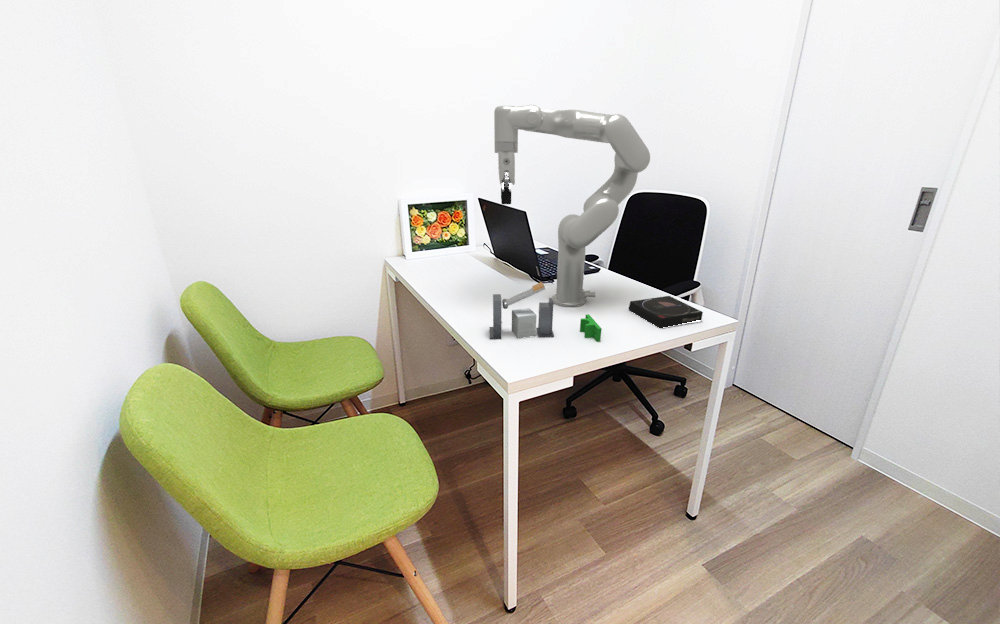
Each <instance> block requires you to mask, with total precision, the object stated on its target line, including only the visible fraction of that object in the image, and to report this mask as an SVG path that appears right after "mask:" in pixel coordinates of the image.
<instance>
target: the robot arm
mask: <svg viewBox="0 0 1000 624" xmlns="http://www.w3.org/2000/svg"><path fill="white" fill-rule="evenodd" d="M493 113H494V114H493V117H494V118H493V119H494V124H493V125H494V127H493V129H494V154H498V156H497V161H498V163H497V165H498V178H499V179H498V180H499V184H500V185H501V187H500V199H501V205H511V204H512V189H511V187H512V186H511V184H512V185H513V186H515V184H516V183H515V182H516V179H515V178H516V177H515V176H516V171H515V170H516V158H515V156H516V155H515V154H517V153H519V152H518V151H519V130H521V131H524V132H531V133H538V134H539V133H540V134H547V135H554V136H558V137H562V138H567V139H574V140H579V141H580V140H582V141H589V142H595V143H601V144H602V143H604V144H609V145H610V147H611V148H612V150H613V151H614V157H613V158H614V170H613V171H612V172H613V173H612V174H611V176H610V177H609V178H608V179H607V180H606V181H605V183H604V184H602V185H601V186H600V187H599V188H598V189H597V190H596V191H595V192H594V193H592V194H591V195H590V196H589V197H588V198H587V199H586V200H585V201H584V204H583V208H582V209H583V212H582V213H581V214H580V215H578V214H575V213H574V214H572V213H571V214H568V215H565V216H564V217H563V218H562V219H561V221H560V222H559V224H558V227H557V228H558V230H557V240H558V241H557V242H558V243H557V244H558V245H557V246H558V248H557V249H558V251H557V252H558V254H557V270H556V272H557V273H556V291H555V294H553V295H552V296H551V298H552V300H553V304H556V305H558V306H561V307H568V308H569V307H572V308H573V307H574V308H575V307H580V306H583V305H585V304H586V302H587V298H596V292H595V291H591V290H584V289H583V288H584V276H585V263H586V247H587V246H590V244H592V243H593V242H594V241H595V240H596V239H598V237H600V236H601V235H602V234H603V233H605V231H607V229H609V228H610V227H611V226H612V225H613V224H614V223H615V221H616V220H617V218H618V216H619V211H620V208H619V205H620V204H621V203H622V202H623V201H624V200H625V199H626V198H627V197H628V196H629V195H630V194H631V192H632V191H633V190H634V187H635V186H636V183H637V179H638V175H639V174H640V173H642V172H643V171H645V170H646V169H647V167H648V166H649V164H650V161H651V153H650V151H649V148H648V147H647V145H646V144H645V142H644V141H643V139H642V138H641V136H640V135H639V134H638V132H637V130H636V129H635V128H634V126H633V125H632V123H631V121H629V119H628V118H627V117H626V116H625V115H622V114H619V113H615V114H607V113H601V112H595V111H592V112H591V111H585V110H580V109H563V110H561V109H547V108H540V107H539V106H537V105H535V104H526V105H520V106H515V105H498V106H496V107H495V109H494V112H493Z"/></svg>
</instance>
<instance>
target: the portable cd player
mask: <svg viewBox="0 0 1000 624" xmlns="http://www.w3.org/2000/svg"><path fill="white" fill-rule="evenodd" d="M628 311H629V312H631V313H632V312H633V313H632V314H634V313H635V314H634V315H636V316H637V315H638V317H639V316H640V317H639V318H641V319H642V318H643V320H644V319H645V321H646V320H647V321H646V322H648V323H649V322H650V324H651V323H652V324H651V325H653V324H654V325H655V327H656V326H657V327H656V328H658V327H659V328H662V329H664V328H663V327H668V326H673V325H678V324H682V323H687V322H692V321H696V320H701V321H702V319H703V318H702V317H703V313H704V312H703V311H701V310H700V309H697V308H695V307H693V306H691V305H689V304H687V303H686V302H683V301H682V300H680V299H679V300H678V299H677V298H674V297H673V296H671V295H665V296H659V297H658V296H657V297H651V298H645V299H637V300H631V301H629V305H628ZM654 325H653V326H654ZM659 328H658V329H659ZM668 328H669V327H668Z"/></svg>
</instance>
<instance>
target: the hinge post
mask: <svg viewBox="0 0 1000 624" xmlns="http://www.w3.org/2000/svg"><path fill="white" fill-rule="evenodd" d="M492 298H493V299H492V316H493V319H492V321H493V323H492V324H493V325H492V326H489V340H502V295H501V294H499V293H495V294H492Z"/></svg>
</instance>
